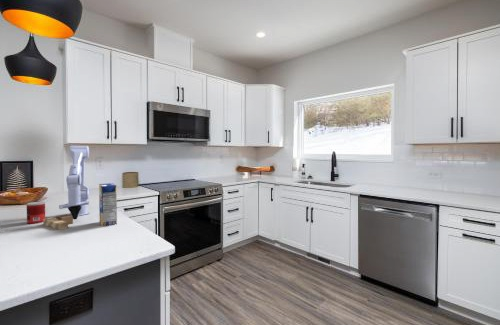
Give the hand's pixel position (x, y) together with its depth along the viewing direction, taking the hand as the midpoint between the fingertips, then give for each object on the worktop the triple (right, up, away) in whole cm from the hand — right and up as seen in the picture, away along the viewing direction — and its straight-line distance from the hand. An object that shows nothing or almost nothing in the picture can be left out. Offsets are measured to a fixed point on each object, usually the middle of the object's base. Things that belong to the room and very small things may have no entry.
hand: (74, 219), depth 142 cm
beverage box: (+21, -2, -2) cm, 21 cm away
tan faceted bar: (-4, -2, -9) cm, 10 cm away
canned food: (-21, -2, -2) cm, 21 cm away
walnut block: (-3, -2, -4) cm, 5 cm away
